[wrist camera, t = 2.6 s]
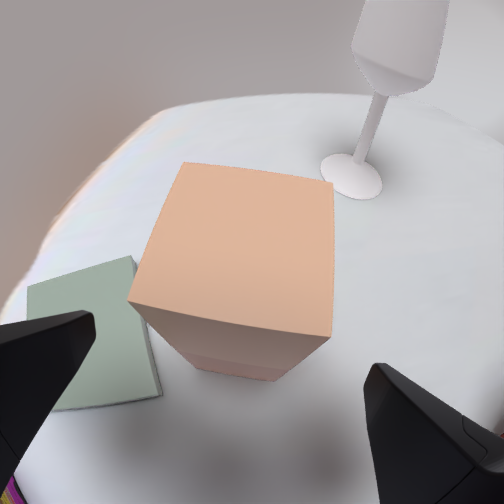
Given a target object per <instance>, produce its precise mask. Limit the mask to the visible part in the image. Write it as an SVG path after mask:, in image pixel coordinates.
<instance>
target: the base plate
mask: <svg viewBox="0 0 504 504" xmlns="http://www.w3.org/2000/svg"><path fill="white" fill-rule="evenodd" d="M136 272H137V270H136V263H135V261H134V260H133V258H132V256H131V255H130V256H126V257H123V258H119V259H116V260H113V261H109V262H106V263H102V264H99V265H96V266H92V267H89V268H86V269H82V270H79V271H76V272H72V273H69V274H66V275H63V276H59V277H56V278H53V279H50V280H47V281H44V282H40V283H37V284H34V285H31V286H28V287H27V320H32V319H37V318H42V317H47V316H53V315H58V314H63V313H68V312H73V311H78V310H86V311H89V312H92V313H93V315H94V319H95V327H96V340H95V342H94V344H93V345H92V347H91V349H90V351H89V352H88V354H87V356H86V358H85V359H84V361H83V363H82V365H81V367H80V368H79V370H78V372H77V373H76V375H75V376H74V378H73V379H72V381H71V382H70V384H69V385H68V386H67V388H66V389H65V391H64V392H63V394H62V395H61V397H60V398H59V400H58V401H57V403H56V404H55V406H54V407H53V409H52V410H51V411H61V410H72V409H82V408H90V407H98V406H105V405H112V404H118V403H124V402H130V401H136V400H141V399H146V398H151V397H156V396H161V395H163V393H162V390H161V386H160V382H159V379H158V375H157V371H156V367H155V363H154V359H153V355H152V350H151V346H150V342H149V337H148V332H147V328H146V323H145V319H144V318H143V317H142V316H141V315H140V314H139V313H138V312H137V311H136V310H135V309H134V308H133V307H132V306H131V305H130V304H129V303H128V301H127V298H128V295H129V292H130V289H131V286H132V283H133V280H134V278H135V275H136Z"/></svg>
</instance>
